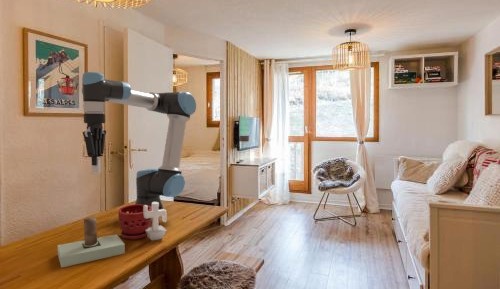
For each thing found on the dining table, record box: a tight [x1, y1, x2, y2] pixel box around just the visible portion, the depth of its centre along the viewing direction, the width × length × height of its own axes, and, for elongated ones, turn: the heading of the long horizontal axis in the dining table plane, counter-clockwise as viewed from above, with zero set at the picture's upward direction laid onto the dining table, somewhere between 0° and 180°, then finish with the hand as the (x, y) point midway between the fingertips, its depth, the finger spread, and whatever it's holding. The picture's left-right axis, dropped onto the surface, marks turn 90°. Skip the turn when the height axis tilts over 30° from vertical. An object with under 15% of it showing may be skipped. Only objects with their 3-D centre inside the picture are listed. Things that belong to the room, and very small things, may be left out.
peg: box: [83, 216, 98, 249], centre depth 113 cm, size 4×4×13 cm
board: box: [57, 233, 126, 268], centre depth 113 cm, size 20×12×4 cm, turn 126°
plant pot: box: [118, 203, 152, 240], centre depth 131 cm, size 13×13×12 cm
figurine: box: [143, 202, 168, 242], centre depth 130 cm, size 7×9×15 cm
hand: (96, 173), depth 124 cm, fingers closed
